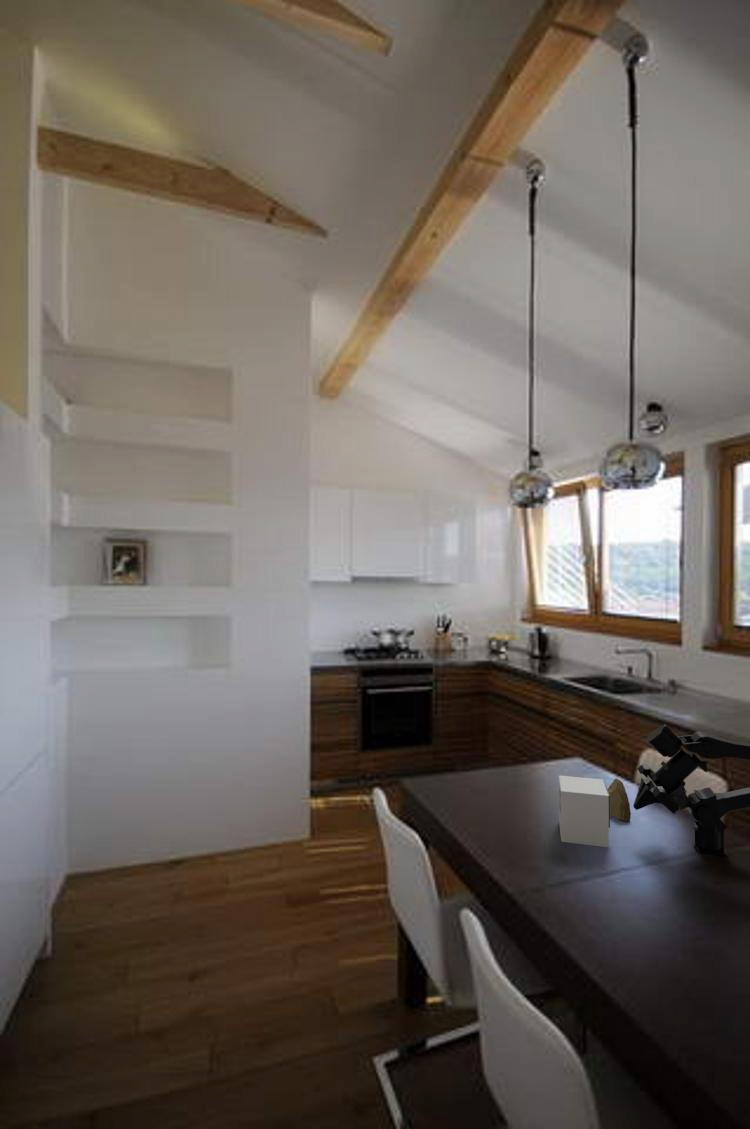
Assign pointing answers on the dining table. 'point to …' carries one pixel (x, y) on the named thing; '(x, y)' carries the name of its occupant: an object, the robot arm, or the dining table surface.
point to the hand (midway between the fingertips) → (634, 808)
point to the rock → (619, 801)
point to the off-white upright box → (584, 811)
